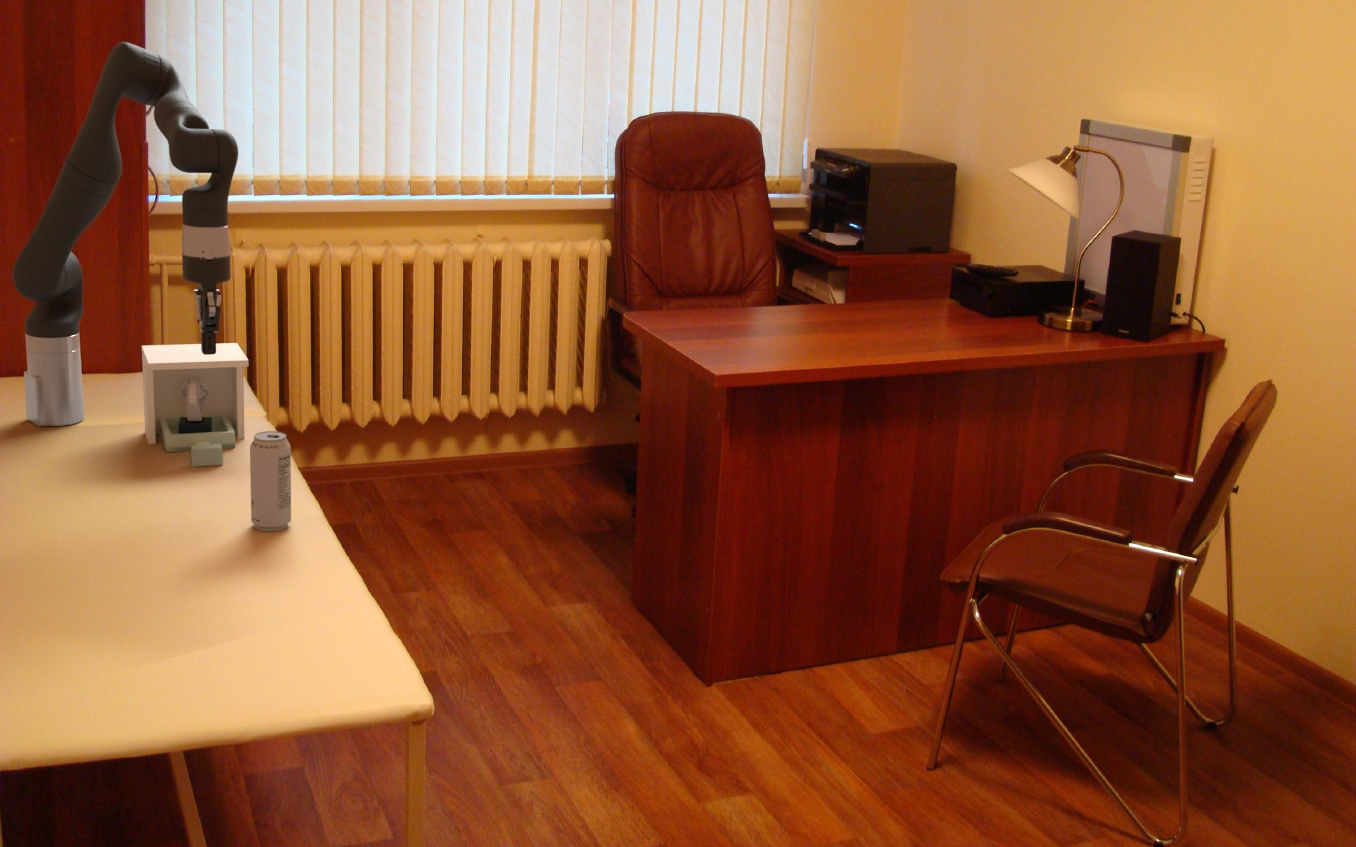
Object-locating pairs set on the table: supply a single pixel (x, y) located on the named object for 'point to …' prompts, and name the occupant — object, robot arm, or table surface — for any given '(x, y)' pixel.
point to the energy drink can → (270, 481)
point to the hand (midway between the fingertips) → (208, 353)
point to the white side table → (187, 361)
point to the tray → (199, 440)
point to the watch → (195, 407)
